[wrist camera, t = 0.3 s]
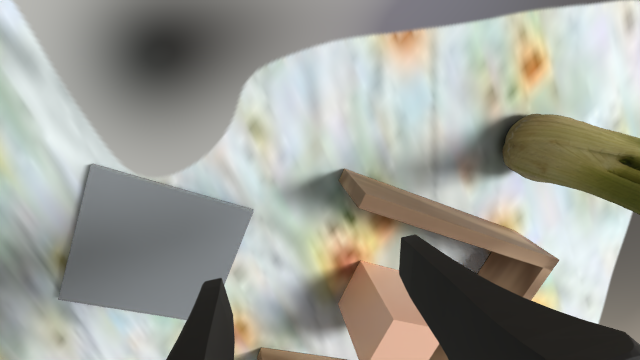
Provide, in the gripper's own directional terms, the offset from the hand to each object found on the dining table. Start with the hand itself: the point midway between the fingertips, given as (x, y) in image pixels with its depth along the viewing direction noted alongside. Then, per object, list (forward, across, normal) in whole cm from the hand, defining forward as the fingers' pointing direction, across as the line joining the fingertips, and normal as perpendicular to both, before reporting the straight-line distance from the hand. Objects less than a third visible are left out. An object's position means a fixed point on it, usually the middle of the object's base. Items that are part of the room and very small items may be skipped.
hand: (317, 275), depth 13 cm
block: (+9, -6, +12) cm, 17 cm away
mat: (+10, +9, +5) cm, 15 cm away
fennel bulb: (+11, -19, +2) cm, 22 cm away
